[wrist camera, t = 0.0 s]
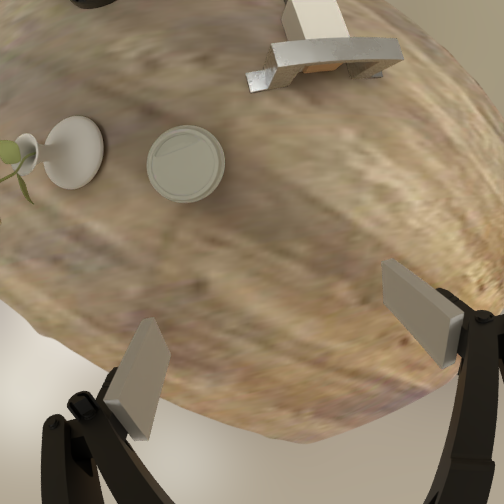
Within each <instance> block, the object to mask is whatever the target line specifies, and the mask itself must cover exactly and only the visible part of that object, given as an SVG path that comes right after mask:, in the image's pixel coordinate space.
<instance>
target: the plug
mask: <svg viewBox="0 0 504 504" xmlns="http://www.w3.org/2000/svg"><path fill="white" fill-rule="evenodd" d="M284 2H285V5H286V7H285V10H284V12H283V15H282V18H281V21H282V24H283V27H284V30H285V33H286V36H287V40H288V41H296V40H306V39H319V38H340V37H350V36H349V33H348V30H347V27H346V25H345V22H344V19H343V17H342V14H341V12H340V9H339V7H338V4H337V2H336V0H284ZM341 64H343V63H334V64H322V65H312V66H303V67H302V68H301V70H300V71H299V72H302V71H303V73H312V72H321V71H331V70H335V69H336V68H338V67H339V66H340V65H341Z"/></svg>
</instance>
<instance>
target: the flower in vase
mask: <svg viewBox="0 0 504 504" xmlns="http://www.w3.org/2000/svg"><path fill="white" fill-rule="evenodd" d="M103 149H104V146H103V138H102V135H101V132H100V130H99V128H98V127H97V125H96V124H95V123H94V122H93V121H92V120H91V119H89V118H87V117H84V116H71V117H68V118H66V119H64V120H62V121H61V122H59V123H58V124H57V125H56V126H55V127H54V128H53V129H52V130H51V132H50V133H49V135H48V137H47V139H46V142H45V145H43V144H39V143H37V141H36V139H35V138H34V137H33V136H32V135H31V134H22V135H20V136H19V137H18V138H17V139H16V140H15V142H13V141H9V140H0V157H1V159H2V161H3V162H4V163H5V164H11V166H12V168H13V170H14V172H13V173H12V174H10V175H8V176H6V177H4V178H2V179H0V183H1V182H2V181H4V180H6V179H8V178H10V177H12V176H13V175H15V174H17V177H18V181H19V185H20V188H21V190H22V193H23V194H24V196H25V198H26V199H27V200H28V201H29V202H30V203H32V204H34V203H33V202H32V201H31V199H30V197H29V195H28V191H27V187H26V184H25V182H24V181H23V179H22V178H21V176H25V175H28V174H29V173H30V172H31V171H32V170H33V169H34V168H35V166H36V165H37V164H39V163H42V162H43V163H44V167H45V171H46V173H47V175H48V177H49V178H50V179H51V181H52V182H53V183H55V184H56V185H58V186H59V187H61V188H64V189H69V190H71V189H78V188H80V187H83V186H84V185H86V184H87V183H89V182H90V181H91V180H92V178H93V177H94V176H95V175H96V173H97V171H98V169H99V167H100V165H101V162H102V158H103ZM0 224H1V219H0Z"/></svg>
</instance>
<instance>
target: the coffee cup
mask: <svg viewBox="0 0 504 504" xmlns="http://www.w3.org/2000/svg"><path fill="white" fill-rule="evenodd" d="M224 169H225V157H224V152H223V149H222V147H221V145H220V143H219V141H218V140H217V139H216V138H215V137H214V136H213V135H212V134H211V133H210V132H209V131H207V130H205V129H203V128H201V127H198V126H193V125H182V126H177V127H174V128H171V129H169V130H167V131H166V132H164V133H163V134H161V135H160V136H159V137H158V138H157V139H156V141H155V142H154V143H153V145H152V147H151V149H150V151H149V154H148V158H147V173H148V177H149V180H150V182H151V184H152V186H153V187H154V188H155V190H156V191H157V192H158V193H159V194H160V195H162V196H163V197H165V198H166V199H168V200H171V201H174V202H179V203H191V202H196V201H199V200H201V199H203V198H205V197H207V196H208V195H209V194H211V193H212V192H213V191H214V190H215V189H216V187H217V186H218V185H219V183H220V181H221V179H222V177H223V174H224Z"/></svg>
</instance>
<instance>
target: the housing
mask: <svg viewBox="0 0 504 504" xmlns="http://www.w3.org/2000/svg"><path fill="white" fill-rule="evenodd" d="M402 60H404V57H403V54H402V51H401V48H400V45H399V43H398V40H397V38H378V37H340V38H319V39H306V40H296V41H287V42H279V43H272V44H271V46H270V49H269V52H268V55H267V58H266V61H265V64H264V67H263V70H260V71H255V72H250V73H246V78H247V82H248V86H249V89H250V93H255V92H260V91H265V90H270V89H276V88H282V87H288V85H289V84H290V83H291V81H292V80H293V79H294V77H295V76H296V75H297V74H298V72H299V71H300V70H301V68H302V67H303V66H312V65H322V64H334V63H346V64H347V68H348V71H349V74H350V78H351V79H362V78H381V77H383V75H382V70H384V69H386V68H388V67H390V66H392V65H394V64H396V63H398V62H400V61H402Z"/></svg>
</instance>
